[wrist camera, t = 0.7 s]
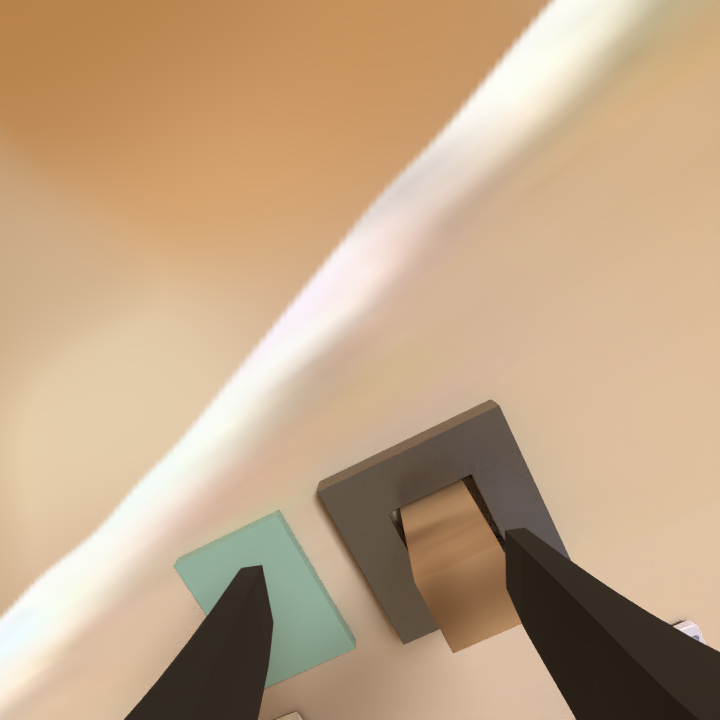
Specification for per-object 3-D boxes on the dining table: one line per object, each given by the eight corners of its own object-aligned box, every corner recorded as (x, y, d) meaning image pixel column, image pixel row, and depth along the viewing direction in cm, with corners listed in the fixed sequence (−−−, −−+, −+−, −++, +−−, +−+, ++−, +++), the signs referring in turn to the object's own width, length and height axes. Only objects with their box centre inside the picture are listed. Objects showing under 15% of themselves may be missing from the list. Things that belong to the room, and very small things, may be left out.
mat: (355, 639, 23) (355, 648, 22) (259, 682, 23) (256, 692, 23) (279, 510, 21) (276, 516, 21) (178, 558, 22) (173, 565, 21)
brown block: (487, 531, 22) (535, 617, 16) (427, 558, 22) (453, 653, 16) (459, 476, 21) (499, 543, 15) (399, 505, 21) (414, 582, 15)
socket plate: (563, 555, 22) (574, 569, 21) (401, 626, 23) (403, 644, 21) (490, 399, 20) (498, 405, 19) (319, 481, 21) (317, 492, 20)
